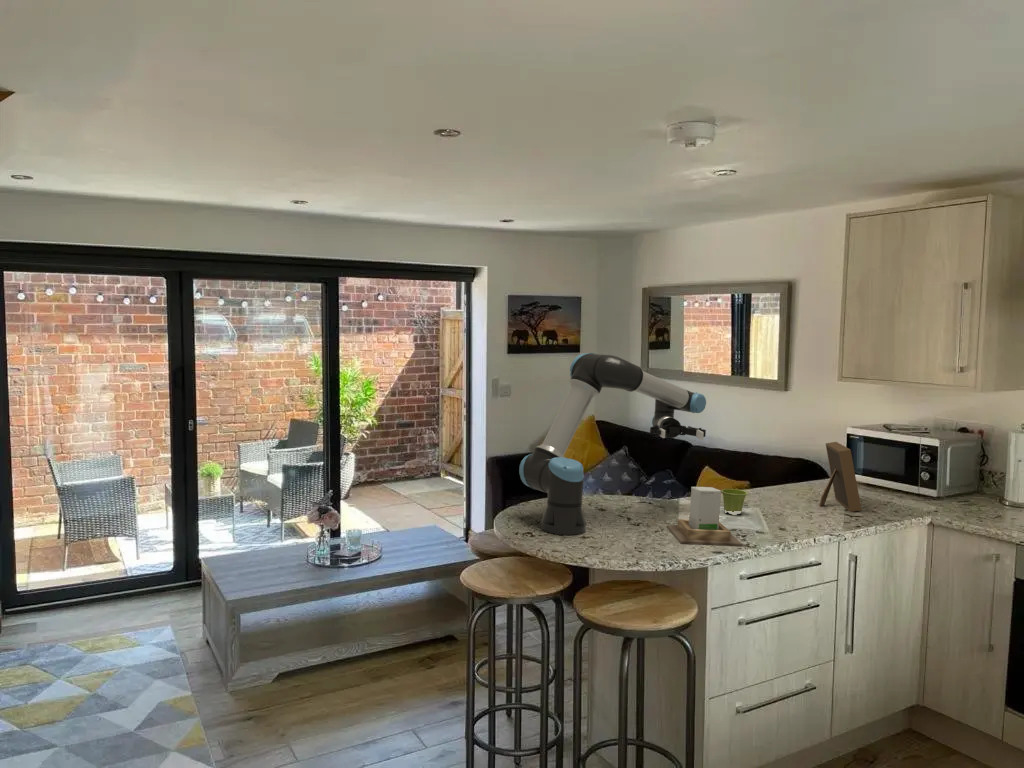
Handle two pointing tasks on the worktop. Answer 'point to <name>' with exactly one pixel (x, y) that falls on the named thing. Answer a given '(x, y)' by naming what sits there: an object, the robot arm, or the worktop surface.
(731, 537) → the socket board
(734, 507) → the plant pot
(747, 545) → the worktop surface
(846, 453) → the photo frame
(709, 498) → the skincare box
